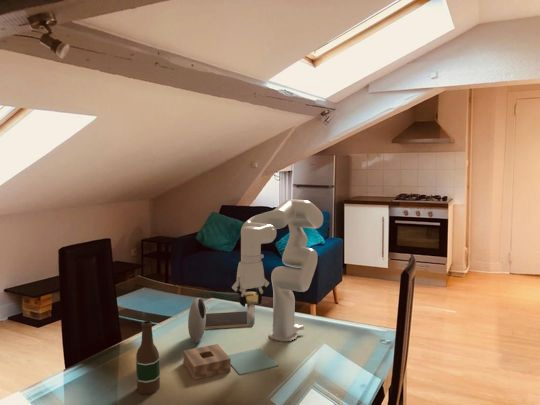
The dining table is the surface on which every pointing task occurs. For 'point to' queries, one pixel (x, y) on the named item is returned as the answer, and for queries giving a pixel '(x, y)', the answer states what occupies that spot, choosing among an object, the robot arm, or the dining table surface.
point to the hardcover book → (226, 320)
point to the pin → (251, 306)
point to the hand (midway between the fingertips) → (250, 303)
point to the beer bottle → (147, 362)
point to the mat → (251, 361)
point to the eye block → (206, 361)
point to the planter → (197, 320)
